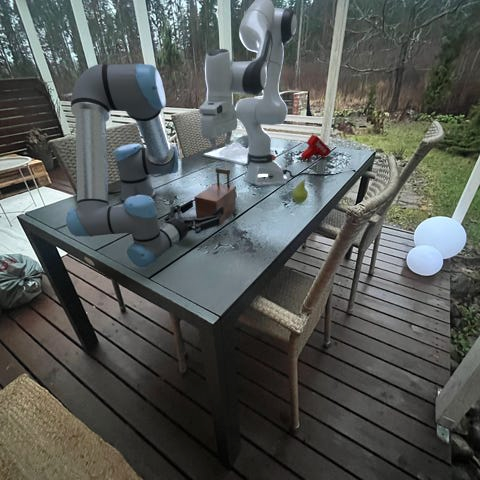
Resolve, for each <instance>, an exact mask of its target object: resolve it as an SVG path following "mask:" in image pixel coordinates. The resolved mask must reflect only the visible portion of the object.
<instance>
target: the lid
mask: <svg viewBox="0 0 480 480" xmlns="http://www.w3.org/2000/svg"><path fill="white" fill-rule="evenodd" d="M215 173H216V181H217V182H216V183H214V184H212V185H210V186H209V187H207V188H205V189H204V190H202V191H201V192H200V193H198V194H196V195H195V196H194V200H195V199H196V200H201V201H206V202H210V203H215V204H217V203H218V202H219V201H221V200H222V199H223V198H225V197H226V196H227V195H229V194H230V193H231V192H233V191H234V190H235V191H236V190H237V186H234V185H230V174H231V170H230V169H226V168H221V167H216V168H215ZM220 174H222V175H223V174H224V175H226V184H223V183H220Z"/></svg>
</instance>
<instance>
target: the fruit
mask: <svg viewBox="0 0 480 480" xmlns="http://www.w3.org/2000/svg"><path fill="white" fill-rule="evenodd" d="M310 177H311V175H308V176H307V177H305V179H302V180H301V181H300V182H298V184H297V185H296V186H295V187H294V188H293V190H292V191H291V198H292V200H293V201H294V202H295V203H297V204H301V203H304V202H305V201H306V200H307V198H308V196H309V195H308V190H307V189H306V184H305V183H306V180H308V179H309V178H310Z"/></svg>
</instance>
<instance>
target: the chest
mask: <svg viewBox="0 0 480 480" xmlns="http://www.w3.org/2000/svg"><path fill="white" fill-rule="evenodd" d="M236 192H237V191H236V189H235V190H234V191H233V192H231V193H230V194H229V195H227V196H226V197H225V198H223V199H222V200H221V201H219V202H218V203H217V204H215V203H210V202H206V201H201V200H196V199H195V198H194V207H195V216H196V217H195V218H197V219H198V218H203V217H208V216H212V214H213V213H214V212H216V211H217V210H218V209H219V208H221V207H223V209H224V214H223V215H222V216H221V218H220V224H222V223H223V222H224V221H225V220H226V219H227V218H229V216H231V215H232V214H233V213H234V212H236V210H237V200H236V199H237V197H236V194H237V193H236ZM217 226H219V225H217ZM217 226H216V227H217Z"/></svg>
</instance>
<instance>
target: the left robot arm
mask: <svg viewBox="0 0 480 480" xmlns="http://www.w3.org/2000/svg"><path fill="white" fill-rule="evenodd" d="M166 102H167V101H166V94H165V88H164V84H163V80H162V77H161V75H160V71H158V69H157V68H156V66H154V65H152V64H145V63H140V62H139V63H124V64H123V63H120V64H119V63H118V64H117V63H116V64H114V63H113V64H105V63H99V64H95V65H92V66H90V67H88V68H87V69H86V70H85V71H83V73H82V74H81V75H80V76H79V78H78V79H77V80H76V82H75V84H74V87H73V89H72V92H71V97H70V112H71V114H72V115H73V116H74V117H75V118H74V119H75V155H76V156H75V157H76V196H77V199H76V200H77V205H76V206H77V207H75V208H71V209H69V210H68V211H67V214H66V217H65V222H66V227H67V229H68V231H69V233H70V234H71V235H72V236H74V237H90V238H92V237H96V236H97V237H98V236H108V235H123V234H131V236H132V241H133V243H131V244H130V245H129V246H128V247H127V251H126V255H127V257H128V259H129V260H130V262H131V263H132V264H134V266H136V267H139V268H147V267H148V266H150V265H152V264H153V263H154V262H156V261H157V260H158V259H159V258H160V257H162V255H164V254H165V253H166V252H168V251H169V250H170V249H172V248H173V247H174V246H175V245H177V244H178V243H179V242H180V241H182V240H183V239H185V238H186V237H187V235H188V233H189V232H191V231H194V232H195V234H197V235H198V234H199V233H202V231H206V230H208V229H211V228H215V227H217V225H218V226H220V225H221V223H220V218H221V216H222V215H223V214H224V209H223V207H221V208H219V209H218V210H217V211H216V212H214V213H213V214H212V216H208V217H203V218H198V219H197V217H187V216H182V214H185V213H186V212H188V211H189V210H191V209H192V208H194V200H192V199H190V200H189V201H187V202H186V203H184V204H182V205H180V204H176V206H172V207H171V208H170V210H169V212H168V214H167V216H165V217H164V223H162V224H160V225H159V220H158V219H159V218H158V212H157V210H156V209H157V208H156V205H155V201H154V198H155V196H156V191H155V186H152V184H151V182H150V180H149V178H148V176H153V174H162V175H172V174H177V173H178V172H179V151H178V147H177V146H175V145H172V143H171V142H169V141H168V139H167V135H166V131H165V127H164V123H163V120H162V116H161V113H162V111H163V109H165V107H166V105H167V103H166ZM112 111H125V112H126V114H127V115H128V116H129V118H131V119H132V120H134V121H135V123H136V125H137V128H138V130H139V133H140V135H141V137H142V140H143V142H144V145H145V147H143V146H142V144H141V143H129V144H125V145H121V146H120V147H119V146H118V147H117V148H116V149H115V150H114V159H115V161H114V162H115V163H116V164H115V165H116V168H117V171H118V175H119V179H120V184H121V186H120V190H119V191H109V174H108V173H109V171H108V142H107V122H108V121H109V120H110V117H111V115H110V113H111V112H112ZM109 194H120V200H121V201H122V202H123V205H112V206H110V197H109ZM176 214H177V217H175V216H176Z"/></svg>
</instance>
